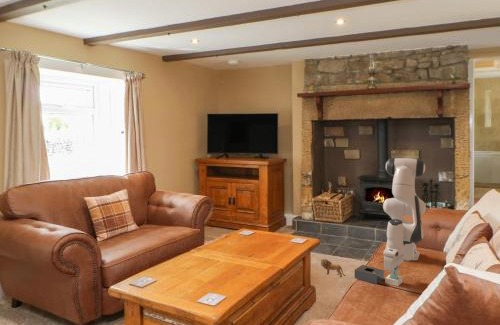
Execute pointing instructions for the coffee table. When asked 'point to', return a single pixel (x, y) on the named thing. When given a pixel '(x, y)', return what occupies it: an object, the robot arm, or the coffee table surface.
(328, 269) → the lion figurine
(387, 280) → the white square block
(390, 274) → the plug
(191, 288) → the coffee table surface
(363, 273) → the block
